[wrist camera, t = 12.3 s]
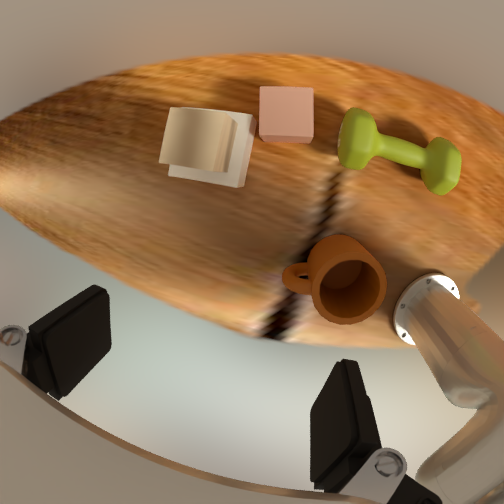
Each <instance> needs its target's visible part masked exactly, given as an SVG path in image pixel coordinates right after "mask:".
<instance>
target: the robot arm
mask: <svg viewBox="0 0 504 504" xmlns="http://www.w3.org/2000/svg"><path fill="white" fill-rule="evenodd" d="M109 301H110V299H109V294H108V293H107V291H106V289H104V288H102V287H100V286H97V285H92V286H90V287H89V288H87V289H85V290H84V291H82V292H80V293H79V294H77V295H76V296H74V297H73V298H71V299H69V300H68V301H66V302H65V303H63V304H62V305H60V306H59V307H57V308H55V309H54V310H52V311H51V312H50V313H48V314H46V315H45V316H43V317H42V318H40V319H39V320H37V321H36V322H35V323H33V324H32V325H30V326H29V333H26V331H25V330H24V329H23V328H22V327H20V326H17V325H8V326H5V327H3V328H2V329H0V504H504V341H503V340H502V339H501V338H500V337H499V336H498V335H497V334H496V333H495V332H494V331H493V330H492V329H491V328H490V327H489V326H488V325H487V324H486V323H485V322H484V321H483V320H482V319H481V318H480V317H478V316H477V315H476V314H475V313H474V312H473V311H472V310H471V309H470V308H469V307H468V306H466V305H465V304H464V303H463V302H462V301H461V300H460V299H459V292H458V289H457V286H456V285H455V283H454V282H453V281H452V280H451V279H450V278H449V277H447V276H446V275H443V274H440V273H430V274H426V275H424V276H421V277H419V278H418V279H416V280H414V281H413V282H412V283H411V284H410V285H409V286H408V287H407V288H406V289H405V290H404V291H403V293H402V294H401V296H400V297H399V299H398V301H397V304H396V306H395V310H394V316H393V323H394V327H395V330H396V332H397V334H398V336H399V337H400V338H401V339H402V340H403V341H404V342H406V343H408V344H412V345H416V346H417V348H418V350H419V351H420V353H421V355H422V356H423V358H424V359H425V361H426V363H427V365H428V366H429V368H430V370H431V371H432V373H433V375H434V377H435V378H436V380H437V382H438V384H439V386H440V387H441V389H442V391H443V393H444V395H445V396H446V398H447V399H448V400H449V401H450V402H451V403H452V404H453V405H455V406H458V407H461V408H470V409H477V412H476V413H475V415H474V416H473V417H472V418H471V419H470V420H469V422H467V423H466V425H465V426H464V427H463V428H462V429H461V430H460V431H458V432H457V433H456V434H455V435H454V436H453V437H452V438H451V439H450V440H449V441H447V442H446V443H445V444H444V445H442V446H441V447H440V448H439V449H438V450H437V451H435V452H434V453H433V454H432V455H431V456H430V457H428V458H427V459H426V460H425V461H424V463H423V464H422V465H421V466H420V468H419V469H418V471H417V473H416V476H415V480H414V479H412V478H411V477H409V476H408V475H406V474H405V473H406V471H407V462H406V460H405V458H404V457H403V455H402V454H401V453H400V452H398V451H397V450H394V449H391V448H382V446H381V441H380V437H379V433H378V429H377V424H376V420H375V416H374V412H373V408H372V405H371V401H370V398H369V396H367V395H366V390H365V386H364V383H363V379H362V376H361V372H360V368H359V365H358V362H357V361H353V360H348V359H342V360H341V362H336V364H335V365H334V367H333V369H332V371H331V373H330V375H329V377H328V379H327V381H326V383H325V385H324V386H323V388H322V390H321V392H320V394H319V395H318V397H317V399H316V401H315V402H314V404H313V406H312V408H311V412H310V438H311V439H310V444H311V445H310V454H311V455H310V456H311V458H310V481H311V482H314V489H319V490H324V493H323V492H313V491H303V490H294V489H286V488H279V487H272V486H266V485H260V484H255V483H250V482H244V481H239V480H235V479H231V478H227V477H223V476H218V475H215V474H211V473H208V472H204V471H201V470H197V469H195V468H192V467H188V466H185V465H182V464H179V463H177V462H174V461H171V460H168V459H166V458H163V457H161V456H158V455H156V454H153V453H151V452H148V451H146V450H144V449H141V448H139V447H137V446H135V445H133V444H130V443H128V442H126V441H124V440H122V439H120V438H118V437H116V436H114V435H112V434H110V433H108V432H107V431H105V430H103V429H101V428H99V427H97V426H96V425H94V424H92V423H90V422H89V421H87V420H85V419H83V418H82V417H80V416H79V415H77V414H76V413H74V412H72V411H71V410H69V409H68V408H66V407H65V406H63V405H62V404H60V403H59V402H57V401H56V400H55V399H57V400H58V401H59V400H60V399H61V398H62V397H63V396H64V397H65V396H67V395H68V394H69V393H70V392H71V391H72V390H73V388H75V387H76V385H77V384H78V383H79V382H80V381H81V380H82V379H83V378H84V377H85V376H86V375H87V374H88V373H89V372H90V370H92V369H93V368H94V366H95V365H96V364H97V363H98V362H99V361H100V360H101V359H102V358H103V357H104V356H105V355H106V354H107V353H108V352H109V351H110V349H111V344H112V343H111V328H110V302H109ZM48 392H49V394H50V395H51V396H52V397H54V398H55V399H53V398H52V397H50V396H49V395H47V393H48Z"/></svg>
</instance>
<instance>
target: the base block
mask: <svg viewBox="0 0 504 504" xmlns="http://www.w3.org/2000/svg"><path fill="white" fill-rule="evenodd" d="M181 108H189V109H200V110H210V111H218V112H226V113H227V114H228V115H229V116H230V117H231V118H232V119H233V120H235V121H236V122H237V123H238V126H237V130H236V135H235V139H234V144H233V148H232V153H231V158H230V162H229V167H228V172H212V171H207V170H201V169H196V168H190V167H184V166H177V165H171V164H170V167H169V173H168V176H173V177H179V178H185V179H191V180H197V181H203V182H209V183H214V184H219V185H225V186H230V187H235V188H239V187H244V184H245V179H246V174H247V169H248V164H249V159H250V154H251V149H252V144H253V139H254V135H255V130H256V125H257V121H256V120H255V118H254V117H253V115H252V114H245V113H238V112H231V111H222V110H213V109H203V108H190V107H181Z"/></svg>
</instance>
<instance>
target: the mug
mask: <svg viewBox="0 0 504 504" xmlns="http://www.w3.org/2000/svg"><path fill="white" fill-rule="evenodd" d="M304 275H308V279H309V280H308V279H302V278H299V277H298V276H304ZM282 281H283V283H284V285H285V286H286V287H287V288H288V289H289V290H291V291H293V292H296V293H299V294H304V295H311V296H312V299H313V303H314V306H315V308H316V309H317V311H318V312H319V314H320V315H321V316H322V317H324V318H325V319H327V320H328V321H330V322H333V323H336V324H340V325H343V324H354V323H358V322H361V321H363V320H365V319H366V318H368V317H370V316H371V315H372V314H373V313H374V312H375V311H376V310H377V309H378V308H379V307H380V305H381V303H382V301H383V300H384V298H385V295H386V289H387V279H386V273H385V272H384V270H383V268H382V266H381V264H380V263H379V262H378V261H377V260H376V259H375V258H374V257H373V256H372V255H371V254H370V253H369V252H368V251H367V250H366V249H365V248H364V247H363V246H362V245H361V244H360V243H359V242H358V241H356V240H355V239H354V238H352V237H349V236H347V235H336V234H335V235H332V236H328V237H325V238H324V239H322V240H321V241H319V242H318V243H317V244H316V245H315V246H314V247H313V249H312V250H311V252H310V254H309V257H308V259H307V263H297V264H293V265H291V266H289V267H287V268H286V269H285V270H284V272H283V274H282Z"/></svg>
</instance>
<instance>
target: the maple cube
mask: <svg viewBox="0 0 504 504" xmlns="http://www.w3.org/2000/svg"><path fill="white" fill-rule="evenodd" d="M237 126H238V123H237V122H236V121H235V120H233V119H232V118H231V117H230V116H229V115H228V114H227V113H226V112H218V111H210V110H200V109H189V108H176V107H170V111H169V115H168V120H167V124H166V128H165V133H164V138H163V143H162V148H161V153H160V158H159V163H164V164H171V165H177V166H184V167H190V168H196V169H201V170H207V171H212V172H228V167H229V162H230V158H231V153H232V148H233V144H234V139H235V135H236V130H237Z"/></svg>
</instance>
